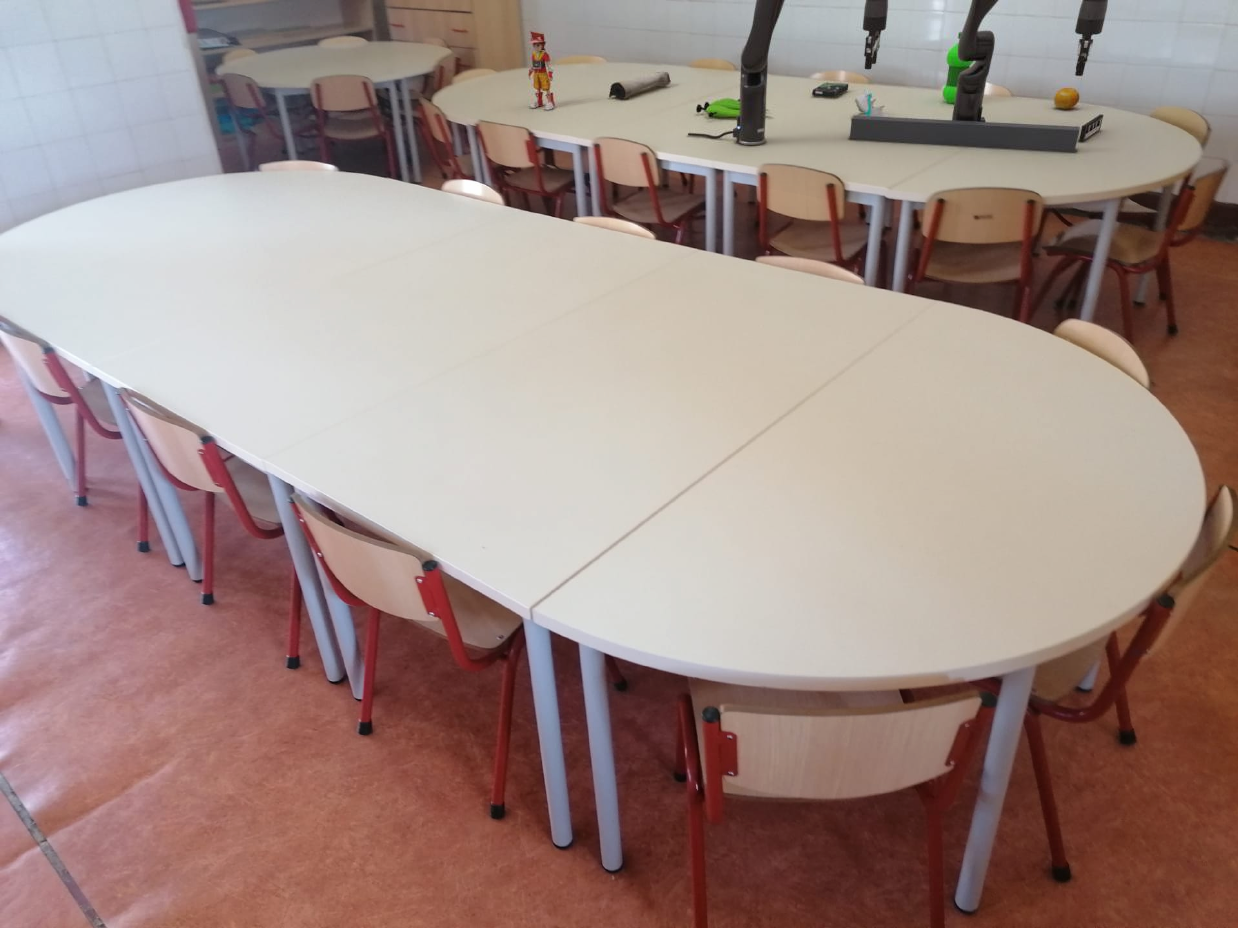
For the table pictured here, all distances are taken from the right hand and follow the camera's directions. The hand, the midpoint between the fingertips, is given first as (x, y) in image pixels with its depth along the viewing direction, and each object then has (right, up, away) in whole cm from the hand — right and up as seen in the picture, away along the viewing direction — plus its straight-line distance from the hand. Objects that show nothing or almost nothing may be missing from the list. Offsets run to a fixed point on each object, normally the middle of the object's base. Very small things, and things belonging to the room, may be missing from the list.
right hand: (1078, 73), depth 283 cm
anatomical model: (-50, +9, +60) cm, 78 cm away
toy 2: (-99, +15, +73) cm, 124 cm away
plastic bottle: (-13, +19, +71) cm, 75 cm away
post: (-29, -14, +25) cm, 41 cm away
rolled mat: (-136, +41, +114) cm, 182 cm away
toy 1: (-178, +29, +100) cm, 206 cm away
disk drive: (-57, +32, +93) cm, 114 cm away
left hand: (-60, +12, +23) cm, 65 cm away
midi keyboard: (+17, -11, +25) cm, 32 cm away
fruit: (+23, +11, +56) cm, 61 cm away
